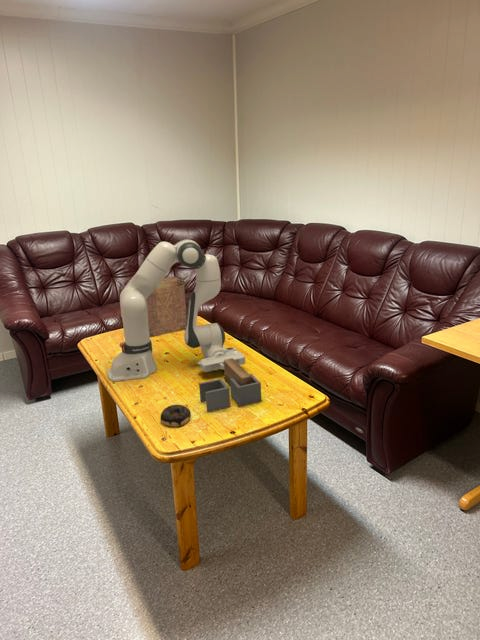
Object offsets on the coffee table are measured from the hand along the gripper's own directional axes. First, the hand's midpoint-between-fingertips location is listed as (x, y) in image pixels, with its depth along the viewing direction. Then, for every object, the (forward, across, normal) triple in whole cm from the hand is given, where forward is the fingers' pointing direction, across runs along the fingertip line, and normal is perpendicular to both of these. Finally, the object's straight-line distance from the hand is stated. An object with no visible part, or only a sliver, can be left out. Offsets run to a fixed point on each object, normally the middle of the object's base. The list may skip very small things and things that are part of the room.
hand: (228, 368), depth 196 cm
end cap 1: (+17, -13, +5) cm, 22 cm away
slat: (+10, 0, +6) cm, 12 cm away
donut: (+21, -29, +6) cm, 37 cm away
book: (-77, -11, +6) cm, 78 cm away
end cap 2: (+18, 0, +5) cm, 19 cm away
